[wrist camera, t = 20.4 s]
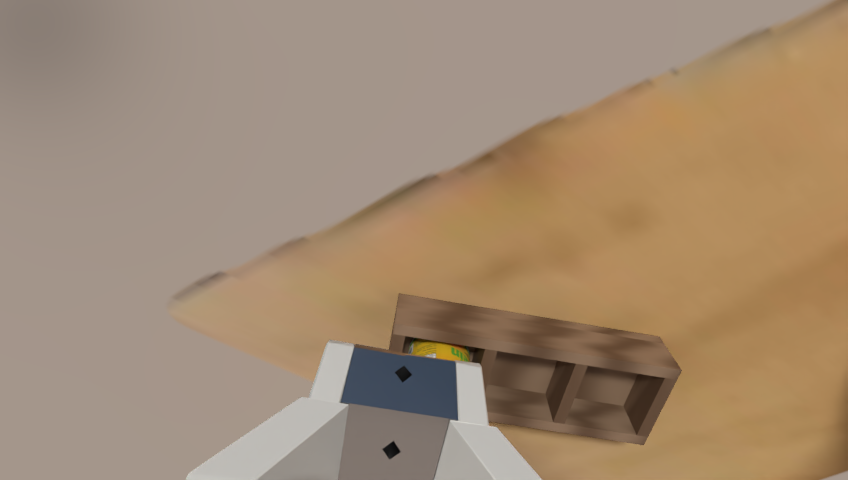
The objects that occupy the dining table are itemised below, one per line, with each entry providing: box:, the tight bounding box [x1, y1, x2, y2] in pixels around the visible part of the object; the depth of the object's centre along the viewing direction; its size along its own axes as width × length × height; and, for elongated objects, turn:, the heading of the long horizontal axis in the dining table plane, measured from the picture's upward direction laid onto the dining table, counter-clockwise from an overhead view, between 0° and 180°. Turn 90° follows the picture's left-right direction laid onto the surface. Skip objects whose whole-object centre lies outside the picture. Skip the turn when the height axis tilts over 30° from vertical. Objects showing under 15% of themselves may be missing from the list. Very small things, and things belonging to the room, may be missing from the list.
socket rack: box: [389, 294, 682, 445], centre depth 43 cm, size 24×9×5 cm, turn 80°
